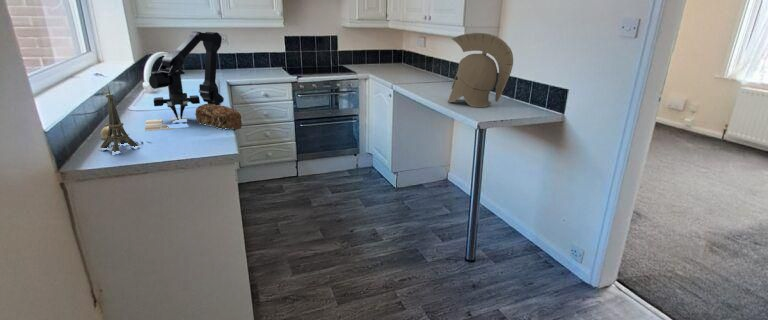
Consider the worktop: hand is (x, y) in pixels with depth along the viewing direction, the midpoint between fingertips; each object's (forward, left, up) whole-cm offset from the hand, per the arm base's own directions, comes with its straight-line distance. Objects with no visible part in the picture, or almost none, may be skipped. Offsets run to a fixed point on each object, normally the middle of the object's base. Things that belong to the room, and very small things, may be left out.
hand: (179, 119), depth 199 cm
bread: (+14, +16, -2) cm, 21 cm away
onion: (+20, -25, -2) cm, 32 cm away
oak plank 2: (+2, 0, -2) cm, 2 cm away
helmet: (+15, +157, -2) cm, 158 cm away
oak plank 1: (+2, -10, -2) cm, 11 cm away
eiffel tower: (+33, -22, -2) cm, 39 cm away
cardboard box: (+11, -5, -2) cm, 12 cm away
